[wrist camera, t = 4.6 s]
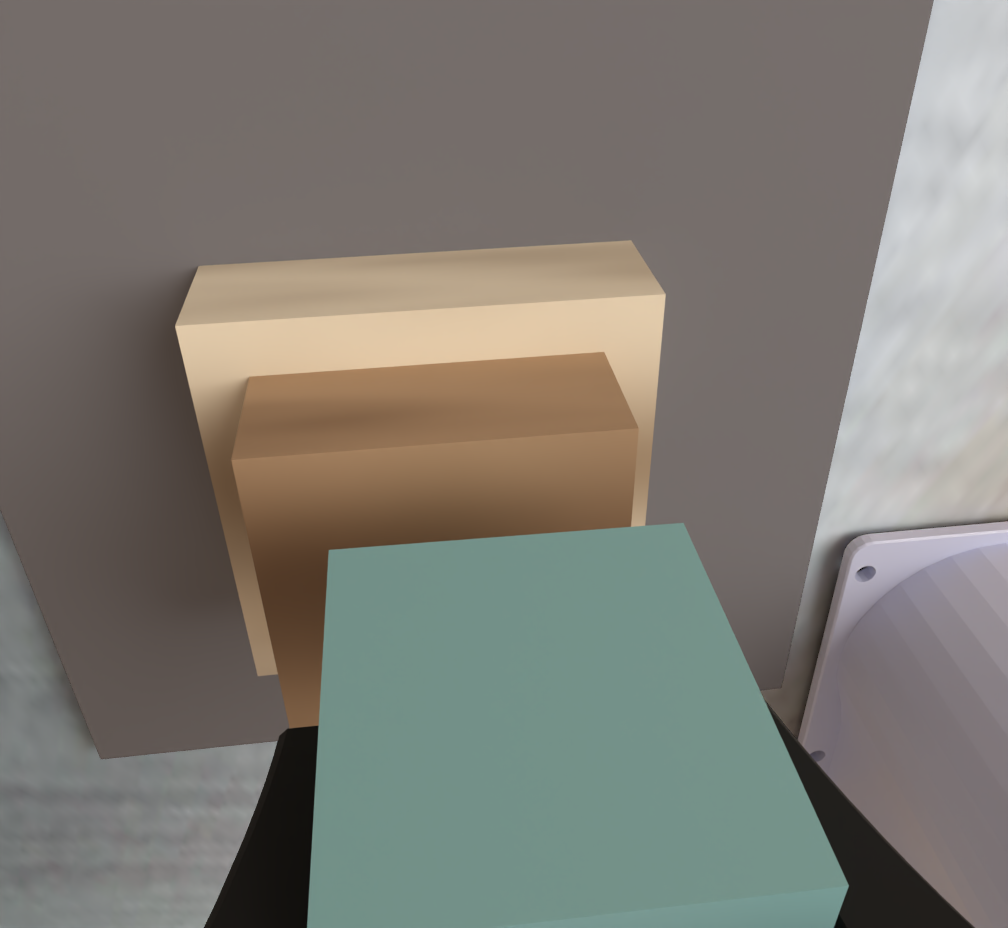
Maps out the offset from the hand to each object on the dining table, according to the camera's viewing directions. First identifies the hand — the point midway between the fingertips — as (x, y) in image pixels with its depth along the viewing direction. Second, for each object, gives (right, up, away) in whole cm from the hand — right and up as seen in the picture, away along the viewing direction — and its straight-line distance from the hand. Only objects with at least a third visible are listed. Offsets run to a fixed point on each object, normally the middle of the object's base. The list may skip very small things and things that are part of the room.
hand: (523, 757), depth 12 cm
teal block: (0, +1, +1) cm, 2 cm away
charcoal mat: (-2, +5, +8) cm, 9 cm away
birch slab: (-2, +4, +8) cm, 9 cm away
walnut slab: (-1, +3, +6) cm, 6 cm away
